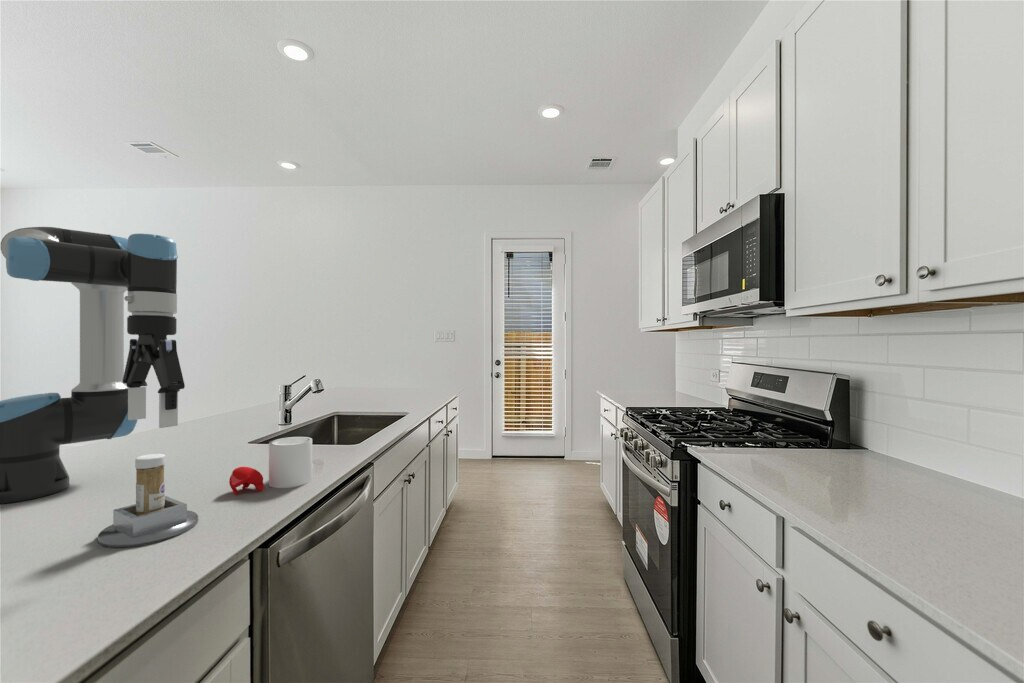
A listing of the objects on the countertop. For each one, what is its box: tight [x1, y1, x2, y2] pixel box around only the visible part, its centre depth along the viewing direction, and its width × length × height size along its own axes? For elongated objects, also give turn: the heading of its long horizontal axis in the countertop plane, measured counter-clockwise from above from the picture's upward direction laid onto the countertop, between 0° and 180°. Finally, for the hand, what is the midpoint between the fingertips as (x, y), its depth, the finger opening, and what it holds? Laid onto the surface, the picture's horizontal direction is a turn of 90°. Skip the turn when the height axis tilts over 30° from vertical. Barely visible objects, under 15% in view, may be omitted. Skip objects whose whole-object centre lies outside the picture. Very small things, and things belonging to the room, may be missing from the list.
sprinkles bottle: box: [134, 453, 166, 516], centre depth 86 cm, size 5×5×14 cm
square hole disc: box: [97, 495, 199, 549], centre depth 86 cm, size 15×15×4 cm
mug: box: [268, 436, 313, 489], centre depth 117 cm, size 14×10×11 cm
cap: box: [228, 466, 265, 496], centre depth 108 cm, size 8×6×6 cm
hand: (152, 423), depth 87 cm, fingers open, 13 cm apart
